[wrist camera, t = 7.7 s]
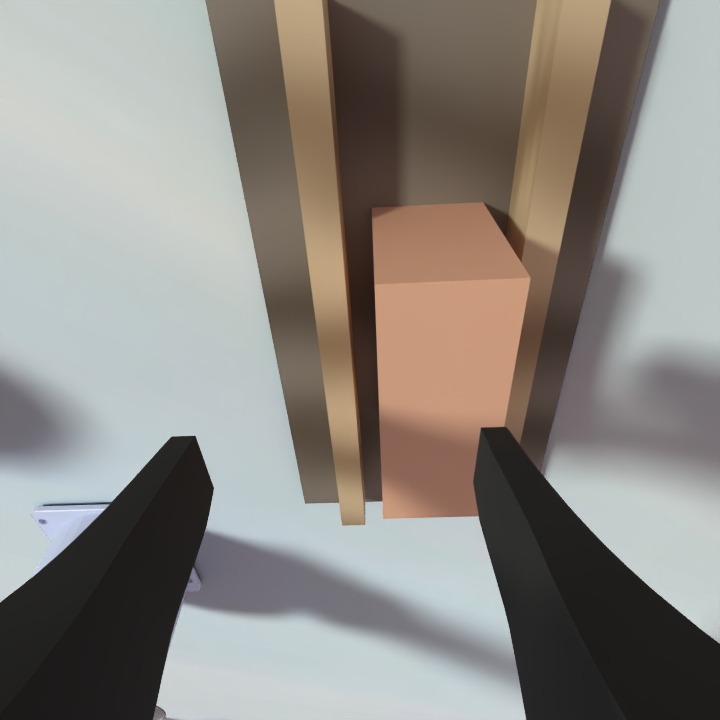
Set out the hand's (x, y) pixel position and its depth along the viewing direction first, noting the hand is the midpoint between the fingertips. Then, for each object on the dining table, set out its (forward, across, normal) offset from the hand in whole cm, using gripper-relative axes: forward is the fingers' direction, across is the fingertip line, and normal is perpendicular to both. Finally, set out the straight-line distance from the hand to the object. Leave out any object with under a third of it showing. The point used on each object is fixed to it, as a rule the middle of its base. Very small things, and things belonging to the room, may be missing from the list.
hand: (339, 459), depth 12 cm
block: (+9, -3, +2) cm, 9 cm away
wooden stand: (+9, -3, +1) cm, 10 cm away
